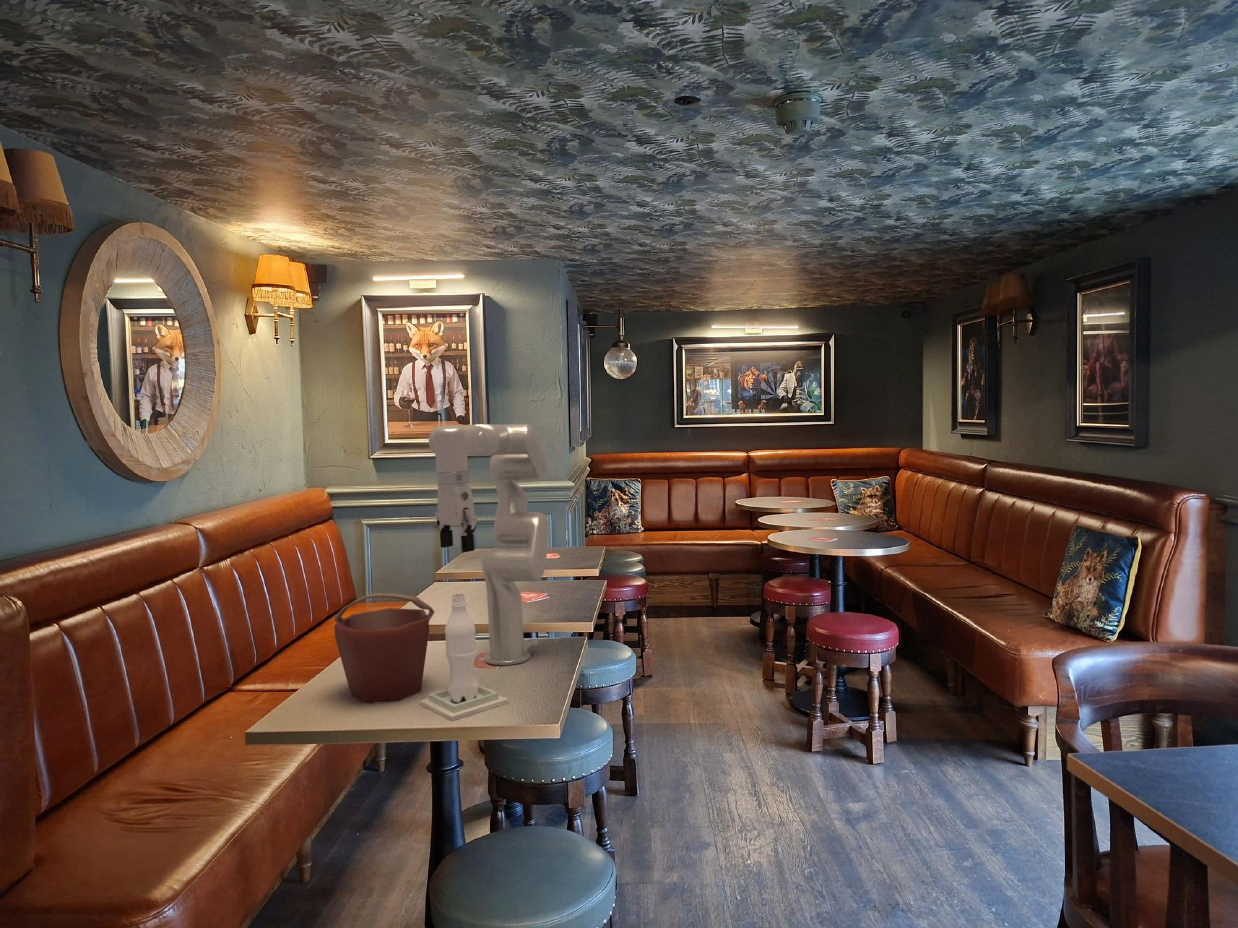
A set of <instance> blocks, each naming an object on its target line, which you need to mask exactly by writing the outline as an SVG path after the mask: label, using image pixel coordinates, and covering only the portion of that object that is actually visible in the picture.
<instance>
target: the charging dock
mask: <svg viewBox="0 0 1238 928" xmlns="http://www.w3.org/2000/svg"><path fill="white" fill-rule="evenodd" d="M427 697H428V698H425V699H421V700H419V704H420V706H422V707H424V708H425V709H427V710H429V711H432V712H434V713H436V714H437V715H440V716H441V717H443V718H445V719H447V720H449V721H451V722H453V721H456V720H459V719H463V718H466V717H469V716H471V715H475V714H478V712H479V713H481V711H482V712H484V711H483V710H485V711H487V709H488V710H491V709H494V708H496V706H497V707H500V706H502V705H503V704H504V705H506V704H509V699H508V698H506V697H504V696H502V695H500V694H499V692H498V691H495V690H493V689H490V688H487V687H485V686H483V685H482V684H479V683H478V693H477V695H476V697H474V698H473V699H472V700H468V701H466V700H465V697H462V699H461V702H459V703H457V702H454V701H453V700H452V699H451V697H450V695H449V693H448V688H445V689H441V690H438V691H435V692H431V693H428V695H427ZM504 705H503V706H504ZM493 707H494V708H493ZM490 708H491V709H490Z"/></svg>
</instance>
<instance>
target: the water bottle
mask: <svg viewBox="0 0 1238 928" xmlns="http://www.w3.org/2000/svg"><path fill="white" fill-rule="evenodd" d="M466 606H467V601H466V596H465V594H463V593H457V594H456V593H455V594H453V595H451V605H450V607H451V613H450V615H449V616H448V619H447V622H446V624H445V628H444V634H445V648H446V649H445V656H446V657H447V661H448V663H449V666H450V677H449V683H448V685H447V689H448V693H449V695H450V697H451V699H452V700H453V701H454V702H457V703H459V702H461V699H462V697H465V700H466V701H468V700H472V699H473V698H474V697H476V695H477V693H478V684H479V683H478V680H477V678H476V675H475V670H474V669H475V668H474V664H475V659H476V656H477V653H478V652H477V651H478V650H477V646H476V645H477V642H476V629H477V628H476V626H475V623H474V621H473V619H472V617H471V616H470V614H469V612H468V610H467V607H466Z"/></svg>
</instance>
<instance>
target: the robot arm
mask: <svg viewBox="0 0 1238 928" xmlns="http://www.w3.org/2000/svg"><path fill="white" fill-rule="evenodd" d="M428 446H429V448H430V450H431V452H432V453H433V454H434V455H435V470H436V485H437V510H436V511H435V513H434V515H435V518H436V524H437V526H438V527H437V529H438V532H439V541H440V548H441V549H443V548H449V547H453V546H454V540H453V539H454V536H453V530H452V527H454V528H459V531H460V532H461V535H460V543H461V552H462V553H469V552H474V551H475V548H476V547H475V533H476V531H475V530H476V528H477V521H478V518H477V516H476V514H475V513H476V512H475V504H474V503H475V502H474V497H473V492H472V487H471V484H470V476H469V475H470V474H469V461H468V456H469V457H486V456H487V457H488V456H490V459H489V472H490V474H491V478H492V480H493V483H494V486H495V488H496V492H497V497H498V498H497V507H496V513H495V518H494V523H493V524H494V525H493V531H492V533H493V539H494V540H495V543H497V544H499V545H502V546H499V547H493V548H489V550H487V551H485V552H484V554H483V556H482V560H481V569H482V573H483V577H484V581H485V587H486V598H487V599H486V601H487V614H488V616H487V619H488V620H487V621H488V638H489V652H488V653H486V654H485V655H484V661H485V663H487V664H489V665H492V664H493V665H494V666H511V665H512V666H513V665H516V664H521V663H523V662H526V661H527V660H529V659H530V658H531V653H530V651H528V650H530V648H534V647H538V646H539V641H538V639H537V638H536V639H531V640H529V639H524V621H523V620H524V619H523V601H522V600H523V598H522V594H521V591H520V590H519V588H518V586H517V585H516V584H515V583H516V582H521V583H523V582H525V583H526V582H527V583H529V582H531V583H532V582H538V581H539V580H541V579H542V578H543V575H544V573H545V570H546V563H547V562H546V561H547V555H548V547H549V540H550V523H549V519H548V518H547V516H546V514H544V513H542V512H538V511H527V510H528V497H527V494H526V493H525V491H524V490H523V488H521V486H520V485H519V484H518V483H517V481H540V480H543V479H544V478H546V477H547V476H548V472H549V461H548V457H547V453H546V451H545V448H544V445H543V444H542V442H541V439H540V437H539V434H538V433H537V431H536V430H535V428H534V427H533V426H532V425H530V424H528V423H511V424H510V423H509V424H504V423H503V424H491V423H479V424H477V423H476V424H464V425H462V424H456V425H438V426H435V427H434V428H433V429H432V430H431V431H430V433H429V436H428ZM525 546H526V547H525Z"/></svg>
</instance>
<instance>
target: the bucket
mask: <svg viewBox="0 0 1238 928" xmlns="http://www.w3.org/2000/svg"><path fill="white" fill-rule="evenodd" d="M377 598H390V599H397V600H402V601H407V602H411V603H413V605H415V606H416V607H417V608H420V609H415V608H414V609H413V608H397V607H396V608H394V607H393V608H392V607H390V608H384V609H379V610H372V611H366V612H360V613H354V614H350V615H349V616H347V617H346V618H343V615H344V613H346V612H347V610H348V609H349V608H351V607H352V606H355V605H356V604H359V603H360V602H363V601H365V600H367V599H377ZM425 610H428V613H426V611H425ZM434 614H435V610H434V609H433V608H432V606H430V605H429V604H428V603H426V602H424V600H422V599H420V598H419V596H414V595H409V594H402V593H394V592H379V593H369V594H367V595H364V596H362V597H360V598H358V599H355V600H354V601H352V602H350V603H349V604H347V605H345V606H344V607H342V608H341V609H340V610H339V611H338V612H337V614H336V615H335V616H334V622H335V623H336V624H334V625H333V626H334V629H333V630H334V639H335V642H336V645H337V649H338V653H339V657H340V659H341V664H342V667H343V671H344V674H345V679H346V682H347V686H348V688H349V692H350V696H351V698H353V697H354V698H353V699H354V700H357V699H358V700H357V701H360V702H362V703H364V702H365V703H364V704H366V703H369V704H376V703H375V702H381V703H390V702H399V701H400V702H401V700H404V699H406V697H407V698H409V697H411V696H414V695H416V694H417V693H420V692H421V691H422V686H423V679H424V671H425V664H426V657H427V656H426V655H427V648H428V641H429V635H430V620H431V619H432V618H433V616H434Z"/></svg>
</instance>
